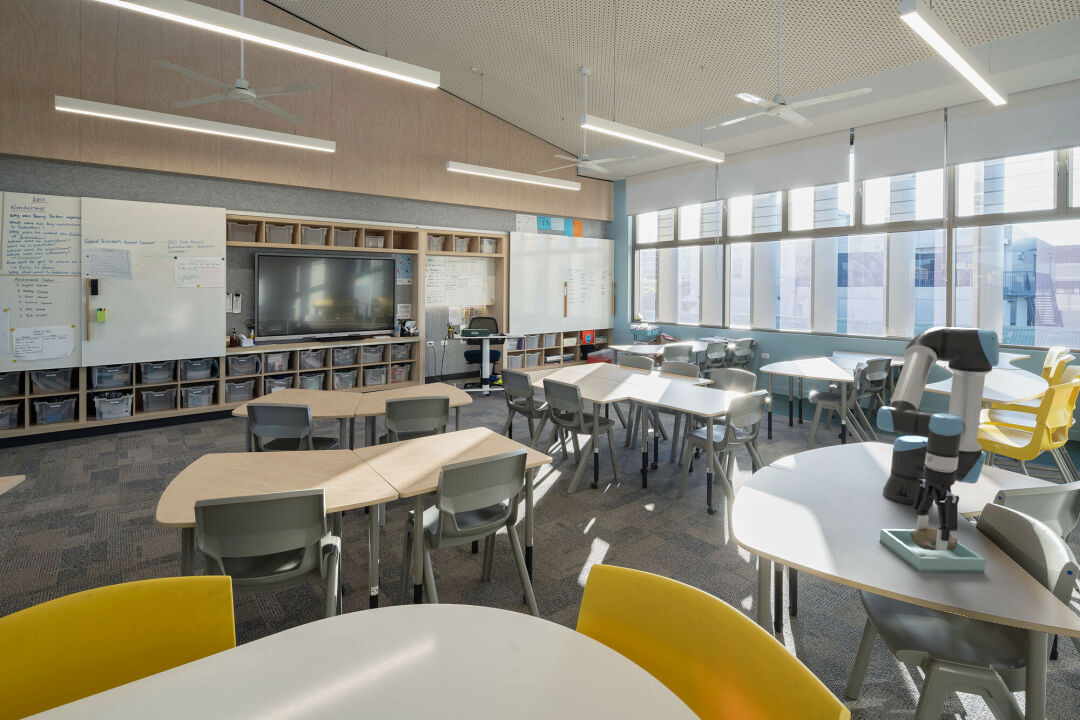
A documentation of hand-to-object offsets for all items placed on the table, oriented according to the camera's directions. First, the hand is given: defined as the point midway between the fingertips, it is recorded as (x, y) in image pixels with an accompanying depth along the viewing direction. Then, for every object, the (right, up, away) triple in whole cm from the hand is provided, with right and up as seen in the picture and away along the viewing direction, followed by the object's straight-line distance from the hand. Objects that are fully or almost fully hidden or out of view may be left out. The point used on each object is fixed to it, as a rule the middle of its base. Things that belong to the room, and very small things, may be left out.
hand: (930, 542), depth 161 cm
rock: (0, -1, 0) cm, 1 cm away
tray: (0, -4, +1) cm, 4 cm away
